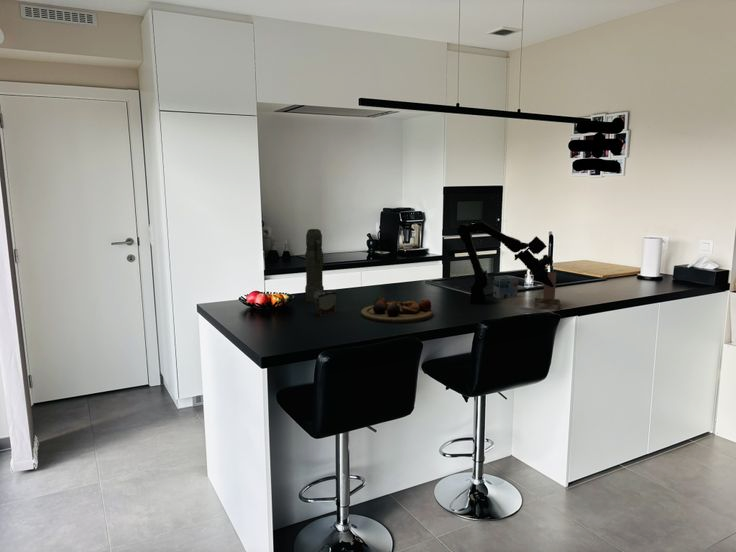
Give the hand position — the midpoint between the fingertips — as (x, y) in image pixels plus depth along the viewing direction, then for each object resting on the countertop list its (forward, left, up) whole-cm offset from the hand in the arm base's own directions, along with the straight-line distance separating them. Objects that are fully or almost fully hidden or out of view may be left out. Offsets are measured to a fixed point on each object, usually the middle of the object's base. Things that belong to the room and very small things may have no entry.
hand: (552, 285), depth 263 cm
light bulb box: (-20, +19, -11) cm, 30 cm away
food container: (-101, -36, -11) cm, 108 cm away
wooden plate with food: (-69, -30, -11) cm, 76 cm away
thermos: (-112, -12, -11) cm, 114 cm away
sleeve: (-1, 0, -11) cm, 11 cm away
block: (-1, 0, -6) cm, 6 cm away
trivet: (-12, -12, -11) cm, 20 cm away
